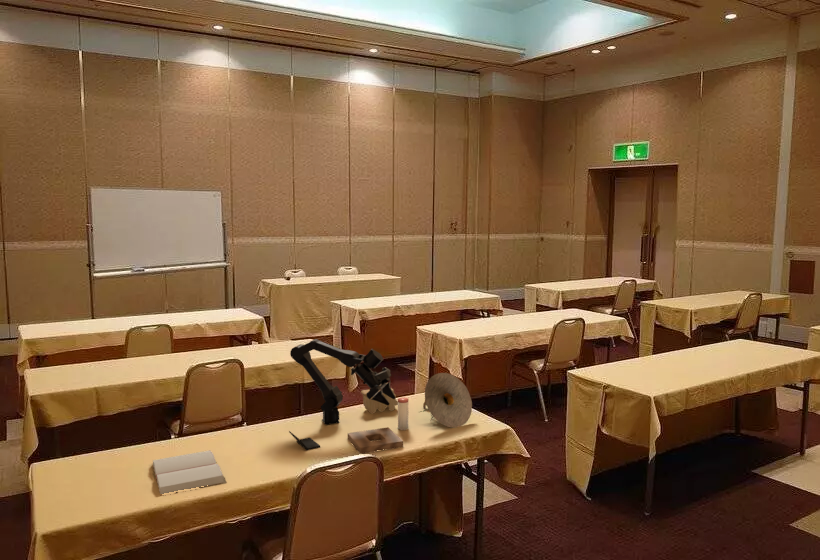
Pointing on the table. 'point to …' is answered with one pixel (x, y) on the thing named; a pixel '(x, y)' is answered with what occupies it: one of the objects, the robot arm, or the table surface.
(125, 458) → the table surface
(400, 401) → the post
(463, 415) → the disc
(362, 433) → the jig plate
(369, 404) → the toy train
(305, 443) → the black spatula
